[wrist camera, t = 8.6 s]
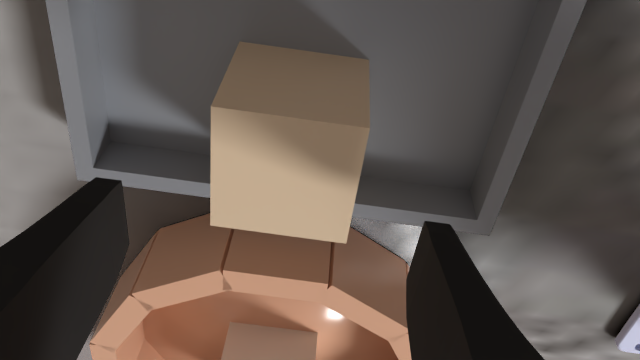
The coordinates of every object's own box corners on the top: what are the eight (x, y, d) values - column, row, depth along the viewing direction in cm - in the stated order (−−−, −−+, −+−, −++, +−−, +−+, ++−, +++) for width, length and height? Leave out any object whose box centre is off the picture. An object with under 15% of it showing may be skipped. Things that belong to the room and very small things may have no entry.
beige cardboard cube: (369, 59, 17) (370, 128, 14) (349, 164, 20) (346, 243, 16) (239, 41, 17) (210, 106, 14) (235, 149, 20) (210, 225, 16)
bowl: (464, 234, 22) (478, 304, 19) (393, 423, 30) (395, 490, 28) (107, 186, 22) (69, 250, 19) (135, 390, 30) (112, 454, 27)
